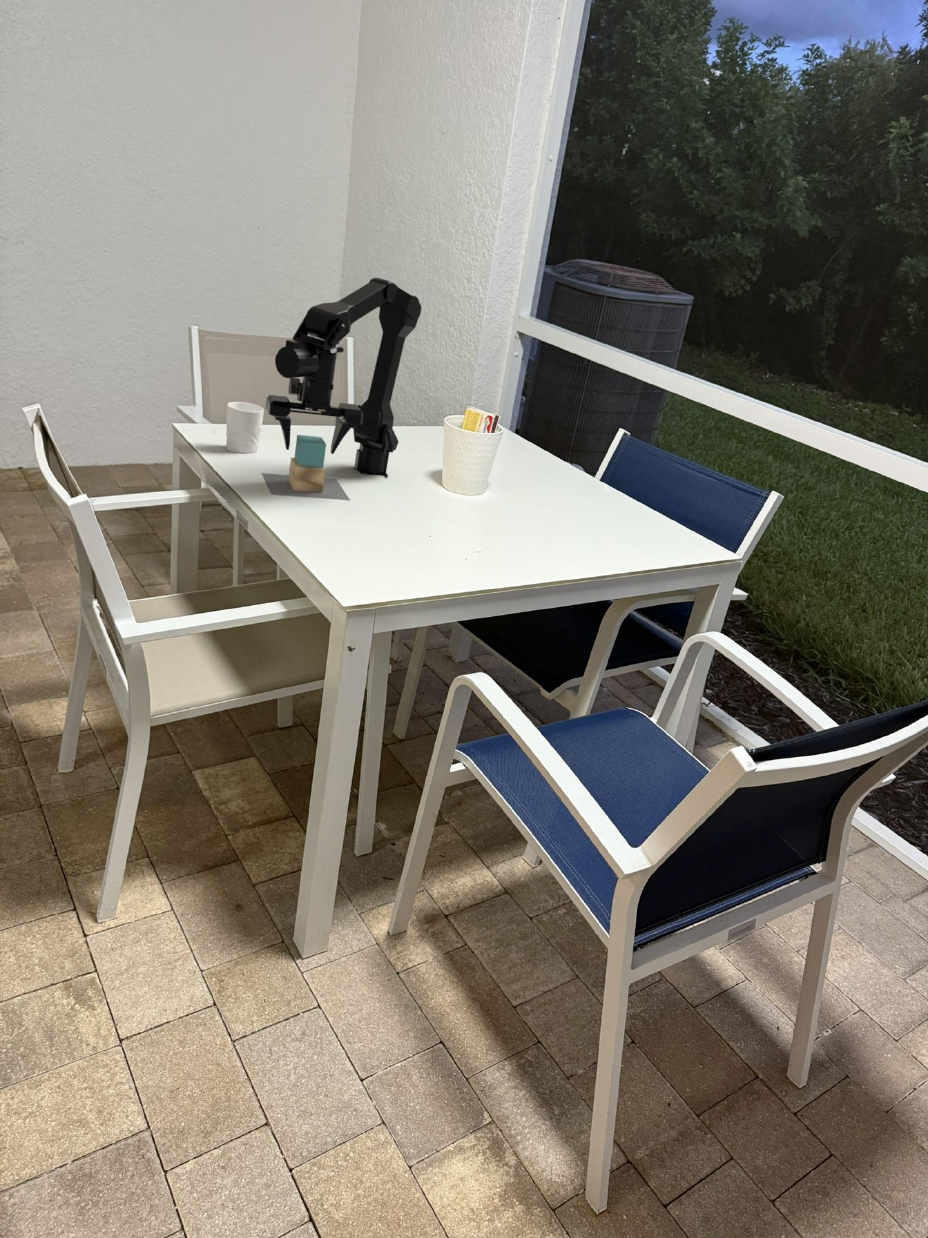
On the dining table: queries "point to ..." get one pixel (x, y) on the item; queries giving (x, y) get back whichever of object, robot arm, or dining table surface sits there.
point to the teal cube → (310, 451)
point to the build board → (283, 487)
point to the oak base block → (306, 477)
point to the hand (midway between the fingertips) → (309, 451)
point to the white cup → (243, 427)
